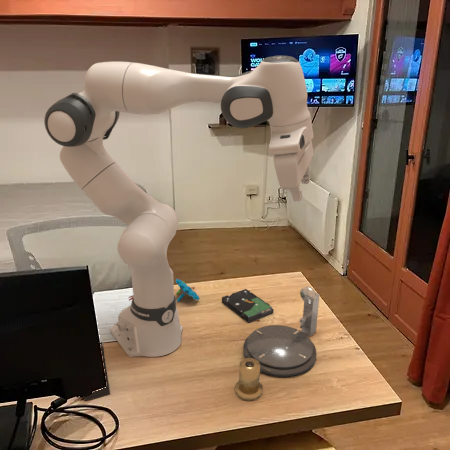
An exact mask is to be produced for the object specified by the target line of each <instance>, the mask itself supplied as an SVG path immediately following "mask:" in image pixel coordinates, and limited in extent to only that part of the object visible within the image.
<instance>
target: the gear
mask: <svg viewBox="0 0 450 450" xmlns="http://www.w3.org/2000/svg"><path fill="white" fill-rule="evenodd" d="M174 280H175V283H176V284H177V285H178V287H179V289H178V291H176V295H177V296H178V295H179V294H180V293H181V292H182V293H181V294H180V295H179V296H178V298H176V302H180V301H181V300H182V299H183V298H184V297H185V296H187V295H188V296H189V297H192V299H194V300H196V301H199V300H200V296H199V294H197V292H196V291H194V290H193V289H192V287H190V286H189V285H188V284H186V282H185V281H183V280H181V279H179V278H176V279H174Z"/></svg>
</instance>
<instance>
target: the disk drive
mask: <svg viewBox="0 0 450 450" xmlns="http://www.w3.org/2000/svg"><path fill="white" fill-rule="evenodd" d="M221 303H222V305H224V306H225V307H226V308H228V309H229V310H231V311H232V312H233V313H234V314H236V316H238V317H240V318H241V319H242V320H243V321H245V322H246V323H247V324H251V323H253V322H256V321H258V320H260V319H263V318H265V317H268V316H271V315H273V314H274V312H275V309H274V308H273V307H272V305H271V304H269V303H268V302H266V301H265V300H263V299H262V298H260V297H259V296H257V295H256V294H254V293H253V292H252V291H250V290H248V289H246V288H244V289H241V290H239V291H236V292H233V293H231V294H230V295H224V296H221Z"/></svg>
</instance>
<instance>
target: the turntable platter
mask: <svg viewBox="0 0 450 450" xmlns="http://www.w3.org/2000/svg"><path fill="white" fill-rule="evenodd" d="M248 336H249V337H248ZM248 336H247V337H248V340H247V351H248V353H249V355H250V356H251V358H253V359H256V360H257V361H259V363H260V364H261V365H263V366H265V367H268V368H272V369H278V370H289V369H295V368H298V367H301V366H303V365H305V364H306V363H307V362H309V360H310V359H311V357H312V354H313V344H314V343H313V344H312V342H313V341H312V340H311V338H310V336H308V335H306V334H304V333H303V332H302V330H299V329H297V328H295V327H292V326H288V325H287V326H286V325H283V324H281V325H279V324H271V325H265V326H262V327H259V328H256V329H254V330H253V331H252V332H251V333H250V334H249V335H248Z"/></svg>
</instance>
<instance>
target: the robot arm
mask: <svg viewBox="0 0 450 450" xmlns="http://www.w3.org/2000/svg"><path fill="white" fill-rule="evenodd" d="M306 84H307V83H306V80H305V76H304V71H303V68H302V66H301V63H300V62H299V60H298V59H297V58H295V57H293V56H291V55H290V56H289V55H274V56H268V57H265V58H263V59H262V60H261V62H260V63H259V64H258V65H256V67H255V68H254V69H252V70H249V71H246V72H242V73H240V74H238V75H237V74H236V75H218V74H204V73H194V72H193V73H192V72H187V71H181V70H175V69H170V68H167V67H166V68H165V67H162V66H161V67H160V66H157V65H151V64H145V63H141V62H132V61H131V62H130V61H103V62H96V63H94V64H92V65H91V66H90V67H89V68H88V70H87V71H86V72H85V77H84V87H83V90H82V91H80V92H73V93H70V94H68V95H67V96H65V97H63V98H61V99H59V100H57V101H55V102H54V103H53V104H51V106H50V107H49V108H48V109H47V110H46V112H45V115H44V122H43V123H44V127H45V131H46V133H47V134H48V136H49V137H50V139H51V140H52V141H53V142H54V143H55V144H57V145H60V146H62V148H61V149H60V152H59V161H60V163H61V164H62V166H63V167H64V169H65V171H66V172H67V174H68V176H70V178H71V179H72V181H73V182H74V183H75V184H76V186H77V187H78V188H79V189H80V190H81V191H82V192H83V193H84V195H85V196H86V197H87V198H88V199H89V200H90V201H91V202H92V203H93V204H94V206H96V207H97V209H98V210H99V211H100V212H101V213H102V214H103V215H106V216H112V217H114V218H115V219H118V220H119V221H121V222H122V223H124V224H125V225H126V227H125V228H124V229H123V231H122V233H121V235H120V237H119V240H118V243H117V253H118V257H119V258H120V259H121V260H122V262H123V263H124V264H126V265H127V267H128V269H129V272H130V276H131V284H132V285H131V286H132V295H130V296H128V298H129V299H128V301H129V302H130V301H131V304H130V305H129V306H127V307H126V308H124V309H122V310H121V311H120V313H119V314H118V316H117V321H116V322H115V323H114V324H113V325H112V326H111V327H110V333H111V334H112V336H113V338H114V339H115V340H116V342H117V343H118V344H119V346H120V347H121V348H122V350H123V351H124V352H125V353H126V354H127V355H126V356H128V357H130V358H133V357H142V356H143V357H149V358H151V357H152V358H154V357H156V358H157V357H162V356H166V355H169V354H171V353H173V352H175V351H176V350H177V349H178V348H179V347H180V345H181V344H182V333H183V331H184V328H183V325H181V323H180V316H179V315H180V314H179V310H178V307H177V298H176V295H175V292H174V291H175V286H174V285H175V283H174V272H173V270H172V268H171V267H170V265H169V261H168V256H167V254H168V252H167V251H168V247H169V244H170V243H171V242H172V239H174V237H175V236H176V233H177V230H178V226H179V225H178V224H179V218H178V214H177V212H176V211H175V209H174V208H173V207H171V206H170V205H169V204H166V203H163V202H159V201H158V200H156V199H155V197H152V196H151V195H150V194H148V193H147V192H146V191H144V190H143V189H142V188H140V186H138V184H136V183H135V182H134V180H132V178H131V177H130V176H129V175H128V174H127V173H126V172H125V170H124V169H122V167H121V166H120V165H119V164H118V163H117V162H116V160H114V159H113V157H112V156H111V155H110V154H109V153H108V151H107V150H106V149H105V147H104V140H105V141H106V140H108V139H109V137H110V135H111V133H112V131H113V129H114V128H115V126H116V124H117V122H118V120H119V118H120V114H121V113H128V114H133V115H141V116H142V115H145V116H147V115H159V114H162V113H164V112H167V111H169V110H172V109H174V108H176V107H179V106H182V105H185V104H187V103H195V102H198V103H199V102H200V103H211V104H213V103H214V104H220V110H221V114H222V116H223V118H224V119H225V121H226V122H227V123H228V124H229V125H231V127H234V128H237V129H249V128H251V127H254V126H257V125H259V124H263V123H265V122H267V121H268V123H269V128H270V141H269V145H268V151H269V155H271V156H273V164H274V169H275V173H276V177H277V181H278V185H279V186H280V188H281V189H282V190H285V191H287V190H288V191H289V192H290V194H291V196H292V201H293V202H300V201H301V200H302V199H303V194H302V190H301V189H300V186H301V185H300V184H302V185H306V184H307V185H308V184H309V183H310V181H311V179H310V178H311V177H310V169H311V168H310V164H311V162H312V159H313V158H314V148H313V141H312V140H313V139H314V136H315V135H314V131H313V130H314V129H313V124H312V123H313V122H312V117H311V116H312V115H311V112H310V110H309V107H308V90H307V85H306ZM120 112H121V113H120Z"/></svg>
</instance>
